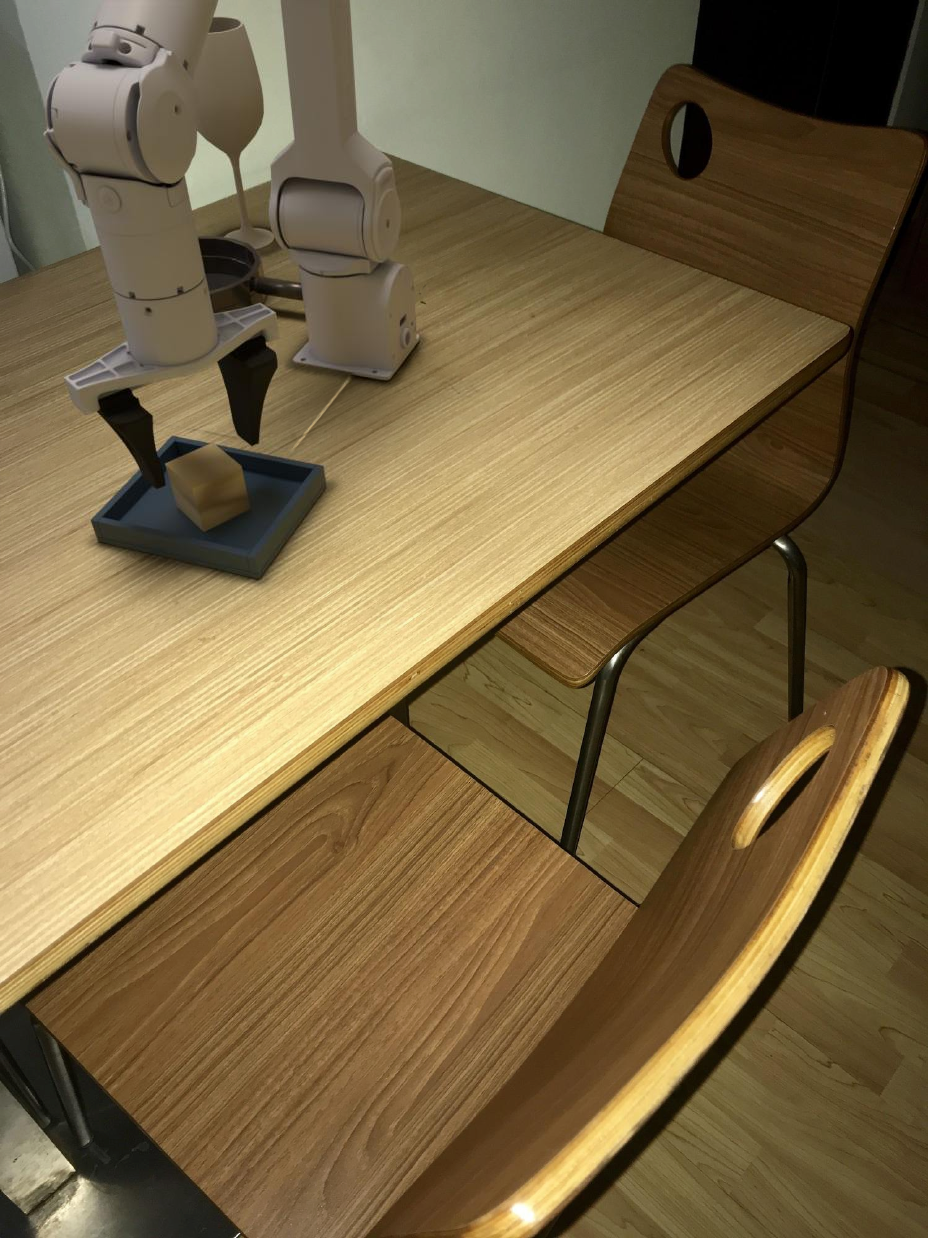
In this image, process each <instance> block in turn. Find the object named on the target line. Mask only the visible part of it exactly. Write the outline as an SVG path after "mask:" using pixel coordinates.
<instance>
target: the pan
mask: <svg viewBox="0 0 928 1238" xmlns="http://www.w3.org/2000/svg"><path fill="white" fill-rule="evenodd" d="M197 237H198V241H199V246H200V251H201V256H202V261H203V265H204V270H205V275H206V280H207V284H208V290H209V294H210V299H211V304H212V309H213V314H216V313H221V312H226V311H232V310H237V309H241V308H245V307H249V306H252V305H255V304H258V303H262V304H263V305H264V304H265V301H266V298H267V295H263V294H258V293H256V292H255V291H254V290H253V289H252V281H253V279H254V278H256V277H259V276H261V277H265V272H264V265H263V260H262V257H261V254H260V252H259V250H257V249H255V248H254V247H252V246H251V245H250V244H248V243H245V242H242V241H239V240H237V239H233V238H226V237H224V236H219V235H197Z"/></svg>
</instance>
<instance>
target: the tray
mask: <svg viewBox="0 0 928 1238" xmlns="http://www.w3.org/2000/svg"><path fill="white" fill-rule="evenodd" d="M211 443H212V442H208V441H207V442H206V441H201V440H197V439H191V438H186V437H181V436H177V435H171V436H170V437H169V438H168V439H167V440H166V441H165V442H164V443H163V444H162V445H161V446H160V447H159V449H158V450H156V451H157V454H158V457H159V460H160V464H161V467H162V470H163V473H164V476H165V483H166V486H164V487H161V488H159V489H156V488H154V487H153V486H152V485H151V484H150V483H149V482H148V481H147V480H146V479H145V478H144V477H143V475H142V473H141V471H140V469H138V470H137V471H136V472H135V473H134V474H133V475H132V476H131V478H129V480H128V481H127V482H126V483H124V485H123V486H122V487H120V489H119V490H118V491H117V492H115V494H114V495H113V496H112V497H111V498H110V499H109V500H108V501H107V502H105V503H106V504H104V506H102V508H100V509H99V511H97V513H96V514H95V515H94V516H93V517H92V518H91V519H90V524H91V526H92V529H93V532H94V534H95V536H96V539H97V542H100V543H104V544H109V545H112V546H117V547H121V548H125V549H129V550H133V551H138V552H143V553H145V554H146V553H147V554H151V555H155V556H158V557H164V558H168V559H172V560H176V561H182V562H184V563H189V564H193V565H197V566H202V567H205V568H210V569H214V570H219V571H223V572H226V573H231V574H236V575H239V576H244V577H248V578H252V579H257V580H260V579H261V578H262V577H263V574H264V573H265V572H266V571H267V569H268V568H269V566H271V564H272V562H274V559H275V558H276V556H277V555H278V554H279V553H280V551H281V550H282V548H283V547H284V546H285V545H286V544H287V542H288V540H289V539H290V537H291V536H292V535H293V533H294V532H295V530H296V529H297V528H298V527H299V525H300V524H301V522H302V521H303V520H304V519H305V517H306V516H307V514H308V513H309V512H310V510H311V509H312V507H313V506H314V505H315V503H316V502H317V500H318V499H319V498H320V496H321V495H322V494H323V493H324V491H325V490H326V488H327V479H326V474H325V473H326V472H325V466H324V465H321V464H316V463H311V462H306V461H302V460H296V459H291V458H286V457H281V456H278V455H277V456H276V455H271V454H266V453H262V452H256V451H251V450H247V449H242V448H236V447H233V446H232V447H231V446H226V445H221V444H217V443H214V444H215V445H217V446H218V447H219V448H220V449H221V450H223V451H224V452H225V453H226V454H227V455H229V456H230V457H231V458H232V459H234V460H235V461H236V462H237V463H238V464H240V465H241V466H242V471H243V476H244V481H245V485H246V490H247V495H248V500H249V504H250V510H249V511H247V512H244V513H242V514H240V515H238V516H236V517H234V518H232V519H230V520H228V521H226V522H224V523H222V524H220V525H218V526H216V527H214V528H212V529H210V530H208V531H206V532H203V531H202V530H201V529H200V528H199V527H198V526H197V525H196V524H195V523H194V522H193V521H192V520H190V519H189V518H188V517H187V516H186V515H185V514H184V513H183V512H182V511H181V510H180V509H179V508H178V507H177V505H176V501H175V498H174V494H173V491H172V487H171V483H170V480H169V476H168V472H167V469H166V465H165V464H166V463H168V462H170V461H172V460H174V459H177V458H179V457H181V456H184V455H186V454H188V453H190V452H193V451H195V450H197V449H199V448H202V447H204V446H206V445H208V444H211Z"/></svg>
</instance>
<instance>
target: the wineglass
mask: <svg viewBox="0 0 928 1238" xmlns="http://www.w3.org/2000/svg"><path fill="white" fill-rule="evenodd" d="M251 44H252V43H251V41H250V37H249V35H248V32H247V29H246V26H245V24H244V22H243V20H242V19H240V18H236V17H232V16H213V20H212V23H211V26H210V29H209V32H208V35H207V38H206V41H205V44H204V48H203V51H202V54H201V57H200V60H199V63H198V66H197V69H196V73H195V76H194V79H193V82H194V83H195V84H196V86H197V87H198V93H197V96H198V98H199V99H198V102H197V106H196V120H197V133H198V134H200V136H201V137H203V138H204V139H205V141H207V142H208V143H209V144H211V145H212V146H214V147H215V148H216V149H218V150H219V151H221V152H222V153H224V154H225V155H226V156H227V157H228V159H229V161H230V162H229V163H230V164H231V167H232V173H233V179H234V184H235V185H234V186H235V190H236V195H237V196H236V197H237V202H238V208H239V213H240V214H239V215H240V222H241V226H240V228H239V229H235V230H232V231H230V232H228V233H226V234H225V235H224V236H223V237H226V238H233V239H237V240H239V241H242V242H245V243H248V244H250V245H251V246H252V247H254V248H255V249H256V250H257V249H261V248H264V247H266V246H268V245H270V244H271V243H272V242H274V239H275V237H274V235H273V233H272V231H271V230H268V229H265V228H260V227H259V228H258V227H253V225H252V224H251V223H250V220H249V217H248V216H249V215H248V210H247V203H246V198H245V192H244V184H243V179H242V172H241V167H240V166H241V165H240V157H241V154H242V152H243V151H244V150H245V149H246V148H247V147H248V145H249V144H250V143H251V142H252V141H253V139H254V138H255V137H256V136H257V133H258V132H259V129H260V128H261V127H262V124H263V119H264V115H265V106H264V103H265V102H264V93H263V86H262V82H261V77H260V74H259V70H258V65H257V63H256V62H257V61H256V58H255V54H254V51H253V48H252V45H251Z"/></svg>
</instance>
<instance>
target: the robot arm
mask: <svg viewBox="0 0 928 1238" xmlns="http://www.w3.org/2000/svg"><path fill="white" fill-rule="evenodd" d="M218 4H219V0H100V1H99V3H98V6H97V9H96V13H95V15H94V19H93V22H92V25H91V28H90V30H89V33H88V36H87V40H86V42H85V45H84V48H83V51H82V54H81V57H80V60H81V61H80V60H78V61H72V62H71V63H69V66H65V67H64V68H63V69H62V70H61V71H60V72H59V73H57V74H56V75H55V76H54V77H53V79H51V82H50V83H49V85H48V88H47V91H46V96H45V102H44V118H45V124H46V130H45V131H44V132H43V138H44V142H45V145H46V146H47V148H48V151H49V153H50V154H51V156H52V158H53V159H54V161H55V162H56V163H57V164H58V166H59V167H60V168H61V169H63V171H65V172H66V173H67V174H68V176H69V177H70V180H71V182H72V184H73V187H74V192H75V194H76V197H77V200H78V201H81V203H82V205H83V206H84V207H86V208H88V209H89V211H90V214H91V219H92V221H93V226H94V228H95V233H96V237H97V239H98V243H99V246H100V250H101V254H102V257H103V261H104V265H105V268H106V271H107V275H108V278H109V283H110V286H111V289H112V293H113V297H114V300H115V303H116V307H117V311H118V313H119V318H120V321H121V324H122V328H123V332H124V335H125V339H126V341H124V342H123V343H121V344H119V345H118V346H116V347H115V348H113V349H111V350H110V351H109V352H107V353H105V354H104V355H102V356H101V357H99V358H98V359H96V360H94V361H93V362H91V363H90V364H89V365H87V366H85V367H83V368H81V369H79V370H77V371H75V372H73V373H71V374H68V375H66V376H64V377H63V380H64V382H65V385H66V389H67V391H68V394H69V397H70V401H71V403H72V405H74V407H76V409H78V410H79V411H80V412H81V413H82V414H84V415H85V416H89V415H91V414H94V413H97V414H98V415H99V416H100V417H101V418H102V419H103V420H104V422H106V424H107V425H108V426H109V427H110V428H111V429H112V431H113V432H114V433H115V434H116V435H117V437H118V438H119V439H120V440H121V442H122V443H123V444H124V446H125V447H126V449H127V450H128V451H129V453H130V455H131V456H132V458H133V460H134V461H135V463H136V465H137V466H138V468H139V469H140V471H141V473H142V475H143V477H144V478H145V479H146V480H147V481H148V482H149V483H150V484H151V485H152V486H153V487H154V488H156V489H159V488H161V487H164V486H166V483H165V476H164V473H163V470H162V467H161V464H160V460H159V457H158V454H157V451H158V450H157V446H156V441H155V433H154V415H153V414H152V413H150V412H149V411H148V410H147V409H146V408H145V407H144V406H142V405H141V402H140V399H139V397H137V396H135V395H134V393H133V391H136V390H139V389H141V388H144V387H146V386H148V385H151V384H154V383H159V382H163V381H167V380H168V381H169V380H173V379H177V378H182V377H187V376H191V375H195V374H198V373H200V372H202V371H205V370H206V369H208V368H210V367H212V366H213V365H215V364H217V365H218V368H219V371H220V375H221V377H222V380H223V383H224V386H225V390H226V393H227V394H226V395H227V397H228V405H229V409H230V414H231V419H232V420H231V421H232V424H233V427H234V430H235V433H236V435H237V436H238V437H239V438H241V440H243V441H244V442H245V443H246V444H248V445H249V446H250V447H254V446H256V445H258V444H259V443H260V436H261V425H262V416H263V409H264V404H265V400H266V396H267V393H268V390H269V387H270V385H271V382H272V380H273V377H274V375H275V373H276V371H277V369H278V367H279V363H278V355H277V351H275V350H274V349H272V348H271V347H269V346H268V345H267V343H271V342H273V341H276V340H278V339H280V338H281V336H280V329H279V323H278V317H277V312H276V311H274V310H273V309H272V308H269V307H268V306H266V305H265V304H264V303H263V304H262V303H258V304H255V305H252V306H249V307H245V308H241V309H237V310H232V311H226V312H221V313H216V314H213V309H212V304H211V299H210V294H209V290H208V284H207V280H206V275H205V270H204V265H203V261H202V256H201V251H200V246H199V241H198V237H197V236H198V232H197V228H196V222H195V217H194V213H193V209H192V205H191V197H190V193H189V188H188V184H187V179H186V174H187V172H188V171H189V168H190V166H191V164H192V162H193V158H195V155H196V153H197V145H198V131H197V120H196V106H197V102H198V99H199V98H198V96H197V93H198V87H197V86H196V84H195V83H194V82H193V79H194V76H195V73H196V69H197V66H198V63H199V60H200V57H201V54H202V51H203V48H204V44H205V41H206V38H207V35H208V32H209V29H210V26H211V23H212V20H213V17H215V13H216V10H217V6H218ZM280 8H281V9H280V10H281V17H282V18H281V19H282V30H283V39H284V49H285V59H286V70H287V79H288V89H289V100H290V108H291V117H292V118H291V120H292V130H293V140H291V142H289V143H288V144H287V145H286V146H285V147H283V148H282V149H281V150H280V151H279V152H278V154H276V156H275V157H274V159H272V162H271V163H270V165H269V166H270V196H269V201H268V221H269V226H270V229H271V230H270V231H271V233H273V235H274V239H275V241H276V243H277V245H278V246H279V247H280V248H282V249H283V250H287V251H288V255H289V262H290V263H293V264H297V265H298V271H299V278H300V283H301V286H302V294H303V301H302V302H303V307H304V315H305V322H306V328H307V329H306V330H307V336H308V341H307V342H306V343H305V344H304V345H303V347H302V348H301V349H300V350H299V351H298V352H297V353H296V354H295V355H294V357H293V358H292V362H293V363H296V364H301V365H306V366H313V367H318V368H323V369H329V370H335V371H341V372H348V373H350V375H351V376H358V377H364V378H370V379H374V380H375V379H376V380H381V381H389V380H391V379H392V378H393V376H394V375H395V373H396V372H397V371H398V370H399V368H400V367H401V365H402V364H403V363H404V361H405V360H406V359H407V357H408V356H409V354H410V353H411V352H412V351H413V349H414V348H415V346H417V344H418V343H419V341H420V334H418V333H417V319H416V299H415V284H414V283H415V282H414V277H413V273H412V270H411V268H410V267H409V266H408V265H406V264H403V263H400V262H396V261H394V260H393V259H391V258H389V257H390V256H391V255H392V254H393V253H394V252H395V249H396V248H397V245H398V242H399V238H400V234H401V227H402V206H401V205H402V204H401V200H400V198H399V194H398V191H397V187H396V180H395V172H394V169H393V167H394V165H393V161H392V160H391V159H390V158H389V157H388V156H387V155H386V154H384V153H383V152H382V151H381V150H380V149H378V148H377V147H376V146H375V145H374V144H372V143H371V142H370V141H369V140H368V139H366V138H365V137H364V136H363V135H362V134H361V133H360V131H359V130H358V129H359V127H358V112H357V98H356V97H357V96H356V95H357V94H356V80H355V79H356V78H355V64H354V46H353V45H354V44H353V30H352V27H353V26H352V14H351V0H280ZM139 469H138V470H139Z"/></svg>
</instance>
